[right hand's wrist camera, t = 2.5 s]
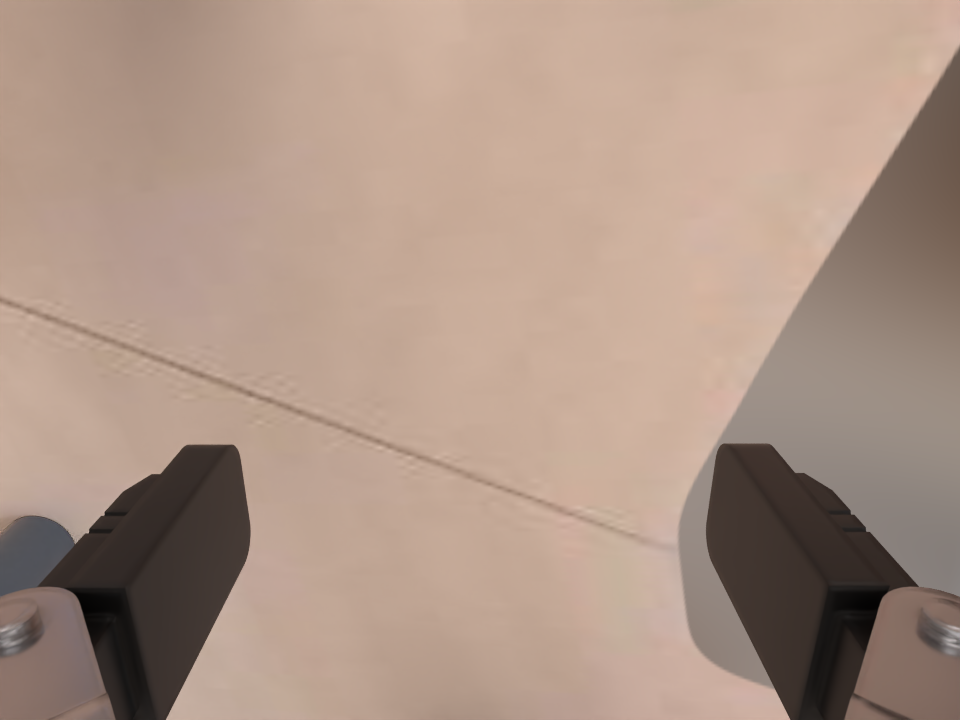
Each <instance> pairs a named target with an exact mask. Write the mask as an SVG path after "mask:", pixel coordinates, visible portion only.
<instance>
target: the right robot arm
mask: <svg viewBox="0 0 960 720" xmlns="http://www.w3.org/2000/svg"><path fill="white" fill-rule="evenodd" d="M706 539H707V547H708V552H709V556H710V559H711V561H712V564H713V566H714V568H715V570H716V572H717V573H718V576H719V578H720V580H721V582H722V584H723V586H724V588H725V590H726V592H727V594H728V596H729V598H730V600H731V602H732V604H733V606H734V608H735V610H736V612H737V614H738V616H739V618H740V620H741V622H742V624H743V626H744V628H745V630H746V632H747V634H748V636H749V638H750V640H751V642H752V644H753V646H754V648H755V650H756V652H757V654H758V656H759V658H760V660H761V662H762V664H763V666H764V668H765V670H766V672H767V674H768V676H769V678H770V680H771V682H772V684H773V686H774V688H775V690H776V692H777V694H778V696H779V698H780V700H781V702H782V704H783V706H784V708H785V710H786V712H787V714H788V716H789V718H790V720H960V597H958V596H956V595H953V594H950V593H947V592H944V591H940V590H935V589H931V588H924V587H919V586H918V585H917V584H916V583H915V582H914V581H913V580H912V579H911V577H910V576H909V575H908V574H907V573H906V572H905V571H904V570H903V568H902V567H901V566H900V565H899V564H898V563H897V562H896V561H895V560H894V558H893V557H892V556H891V555H890V554H889V553H888V552H887V551H886V550H885V548H884V547H883V546H882V545H881V544H880V543H879V542H878V541H877V540H876V538H875V537H874V536H873V535H872V534H871V533H870V532H866V527H865V526H864V525H863V524H862V523H861V522H860V521H859V519H858V518H857V517H856V516H855V515H851V511H850V509H849V508H848V507H847V506H846V505H845V504H844V503H843V502H842V501H841V499H840V498H839V497H838V496H837V495H836V494H835V493H834V492H833V491H832V490H831V489H829V488H828V487H826V486H824V485H823V484H821V483H819V482H818V481H816V480H814V479H813V478H811V477H810V476H808V475H806V474H805V473H795V472H794V471H793V470H792V469H791V467H790V466H789V465H788V464H787V463H786V462H785V460H784V459H783V458H782V457H781V456H780V454H779V453H778V452H777V451H776V450H775V448H774V447H773V446H772V445H770V444H722V445H721V446H720V447H719V449H718V451H717V455H716V460H715V467H714V474H713V481H712V488H711V495H710V502H709V509H708V516H707V523H706ZM249 545H250V520H249V513H248V507H247V500H246V493H245V486H244V479H243V472H242V465H241V459H240V455H239V452H238V449H237V448H236V447H235V446H234V445H186V446H184V447H183V448H182V450H181V451H180V452H179V453H178V454H177V455H176V457H175V458H174V459H173V460H172V461H171V462H170V464H169V465H168V466H167V467H166V468H165V470H164V471H163V472H162V473H161V474H151V475H150V476H148V477H147V478H145V479H143V480H142V481H140V482H138V483H137V484H135V485H133V486H132V487H130V488H129V489H127V490H125V491H124V492H122V494H121V495H120V496H119V497H118V498H117V499H116V500H115V501H114V502H113V504H112V505H111V506H110V507H109V508H108V509H107V510H106V511H105V515H104V516H101V517H100V518H99V519H98V520H97V521H96V522H95V523H94V524H93V526H92V527H91V528H90V529H89V534H84V536H83V537H82V538H81V539H80V540H79V541H78V542H77V543H76V544H75V545H74V547H73V548H72V549H71V550H70V551H69V552H68V553H67V554H66V555H65V556H64V558H63V559H62V560H61V561H60V562H59V563H58V564H57V565H56V566H55V568H54V569H53V570H52V571H51V572H50V573H49V574H48V575H47V576H46V577H45V579H44V580H43V581H42V582H41V583H40V584H39V585H38V586H37V587H36V588H29V589H24V590H20V591H16V592H13V593H10V594H7V595H4V596H1V597H0V720H166V718H167V716H168V714H169V712H170V710H171V708H172V706H173V704H174V702H175V700H176V698H177V696H178V694H179V692H180V690H181V688H182V686H183V685H184V683H185V681H186V679H187V677H188V675H189V673H190V671H191V669H192V667H193V665H194V663H195V661H196V659H197V657H198V655H199V653H200V651H201V649H202V647H203V645H204V643H205V641H206V639H207V637H208V635H209V633H210V631H211V629H212V627H213V625H214V623H215V621H216V619H217V617H218V615H219V613H220V611H221V609H222V607H223V605H224V603H225V601H226V599H227V598H228V596H229V594H230V592H231V590H232V588H233V586H234V584H235V582H236V580H237V578H238V576H239V574H240V572H241V570H242V568H243V566H244V564H245V561H246V559H247V555H248V551H249Z"/></svg>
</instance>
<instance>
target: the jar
mask: <svg viewBox="0 0 960 720" xmlns="http://www.w3.org/2000/svg"><path fill="white" fill-rule="evenodd" d="M73 547H74V542H73V539H72V538H71V536H70V535H69V533H68V532H67V531H66V530H65V529H64V528H63V527H62V526H60V525H59V524H57V523H56V522H54V521H52V520H49V519H47V518H43V517H38V516H27V517H22V518H19V519H17V520H15V521H13V522H12V523H11V524H10V525H9V526H8V527H7V528H5V529H4V530H3V531H2V532H1V533H0V597H1V596H4V595H7V594H10V593H13V592H16V591H20V590H24V589H29V588H36V587H37V586H38V585H39V584H40V583H41V582H42V581H43V580H44V579H45V577H46V576H47V575H48V574H49V573H50V572H51V571H52V570H53V569H54V568H55V566H56V565H57V564H58V563H59V562H60V561H61V560H62V559H63V558H64V556H65V555H66V554H67V553H68V552H69V551H70V550H71V549H72V548H73Z"/></svg>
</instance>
